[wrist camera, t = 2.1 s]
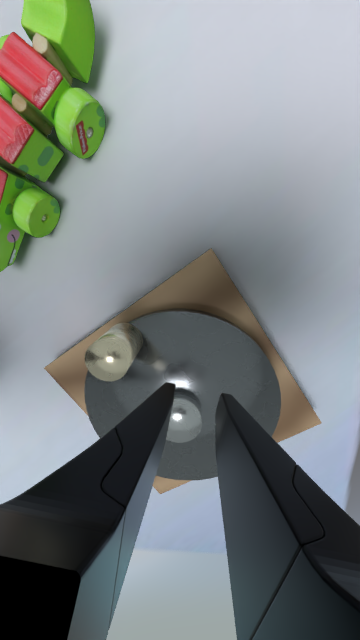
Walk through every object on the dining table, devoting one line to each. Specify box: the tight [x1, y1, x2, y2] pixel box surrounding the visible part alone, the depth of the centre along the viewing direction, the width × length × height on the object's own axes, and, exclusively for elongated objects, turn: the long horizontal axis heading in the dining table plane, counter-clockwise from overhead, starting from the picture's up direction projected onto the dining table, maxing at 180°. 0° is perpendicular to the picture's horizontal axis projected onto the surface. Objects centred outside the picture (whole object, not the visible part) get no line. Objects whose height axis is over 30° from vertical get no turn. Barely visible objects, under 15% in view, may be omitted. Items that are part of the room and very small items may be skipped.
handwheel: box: [84, 308, 281, 480], centre depth 18 cm, size 18×18×6 cm
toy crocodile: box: [0, 0, 105, 272], centre depth 15 cm, size 20×7×6 cm, turn 142°
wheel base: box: [44, 248, 321, 494], centre depth 22 cm, size 20×20×2 cm
